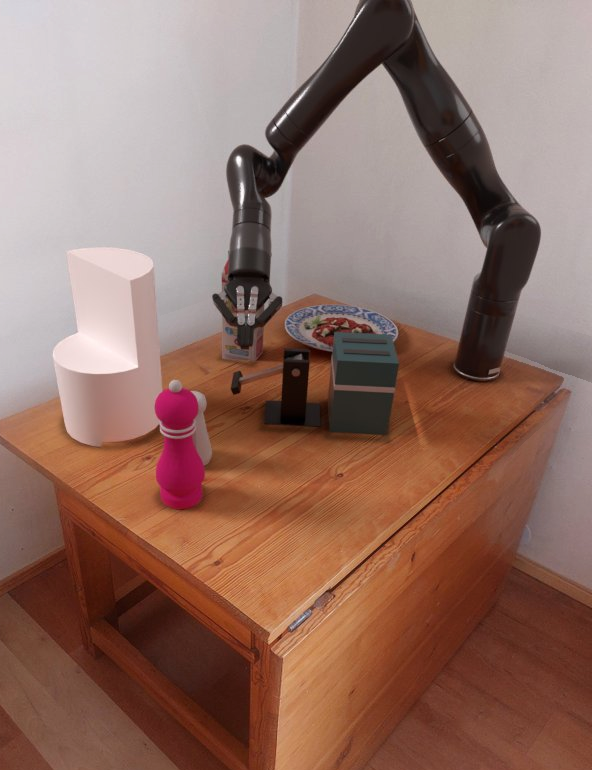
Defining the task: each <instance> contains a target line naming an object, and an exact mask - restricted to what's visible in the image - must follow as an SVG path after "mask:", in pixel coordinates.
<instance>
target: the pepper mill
mask: <svg viewBox="0 0 592 770" xmlns="http://www.w3.org/2000/svg"><path fill="white" fill-rule="evenodd" d="M191 391H192V390H190V389H188V388H185V387H183V384H182V382H181V381H180V380H178V379H172V380H171V381H169V384H168V388H166V389H163V391H162V392H161V393H160V394H159V395H158V397H157V398H156V401H155V414H156V416H157V418H158V419H159V420H160V423H159V432H160V434H162V436H163V447H162V452H161V455H160V456H159V459H158V461H157V463H156V468H155V479H156V482H157V484H158V485H159V489H160V490H159V491H160V499H161V502H162V503H163V504H164V505H165V506H166V507H169V508H171V509H176V510H184V509H189V508H192V507H195V506H196V505H198V504H199V503H200V502H201V500H202V498H203V485H202V483H203V482H204V481H205V478H206V470H205V466H204V465H203V462H202V459H201V458H200V456H199V454H198V452H197V450H196V448H195V446H194V443H193V433H194V432H195V430H196V426H195V423H196V421H195V418H196V416H197V414H198V410H199V407H198V401H197V398H196V396H195V395H194V394H193V393H192V392H191Z"/></svg>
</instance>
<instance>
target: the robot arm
mask: <svg viewBox="0 0 592 770" xmlns="http://www.w3.org/2000/svg"><path fill="white" fill-rule="evenodd" d="M380 66H383V68H384V69H385V71H386V72H387V73H388V75H389V76H390V78H391V79H392V81H393V83H394V84H395V86H396V88H397V90H398V92H399V95H400V97H401V99H402V102H403V105H404V107H405V110H406V112H407V115H408V117H409V120H410V122H411V124H412V126H413V129H414V130H415V132H416V135H417V136H418V139H419V140H420V143H421V144H422V146H423V147H424V149H425V150H426V152H427V154H428V156H429V157H430V159H431V160H432V162H433V164H434V165H435V166H436V168H437V169H438V170H439V172H440V173H441V175H442V177H443V178H444V179H445V180H446V182H447V183H448V184H449V185H450V186H451V188H452V189H453V190H454V191H455V192H456V193H457V195H458V196H459V198H461V200H462V202H463V203H464V206H465V207H466V209H467V211H468V213H469V216H470V217H471V220H472V221H473V224H474V226H475V228H476V231H477V233H478V236H479V238H480V241H481V243H482V244H483V246H484V247H485V248H486V251H485V256H484V259H483V262H482V263H483V264H482V267H481V271H480V272H478V273H477V274H475V276H474V277H473V279H472V284H471V289H470V294H469V298H468V302H467V307H466V311H465V316H464V320H463V324H462V329H461V332H460V333H461V334H460V337H459V343H458V347H457V351H456V355H455V359H454V362H453V365H452V368H453V371H454V373H456V374H457V375H458V376H460V377H462V378H465V379H467V380H470V381H476V382H491V381H495V380H497V379H498V378H499V376H500V374H501V373H500V372H501V368H502V363H503V360H504V357H505V354H506V349H507V346H508V342H509V338H510V334H511V331H512V327H513V324H514V320H515V317H516V312H517V309H518V305H519V302H520V297H521V294H522V291H523V290H524V288H525V287H526V286H527V284H528V281H529V279H530V276H531V274H532V270H533V267H534V264H535V261H536V257H537V254H538V251H539V248H540V244H541V239H542V228H541V225H540V223H539V221H538V219H537V218H536V217H535V216H534V215H533V214H531V213H530V212H529V211H528V210H527V209H525V207H524V206H522V205H521V204H520V203H519V202H518V201H517V199H516V198H515V196H514V195H513V194H512V193H511V191H510V190H509V188H508V187H507V185H506V184H505V183H504V181H503V180H502V179H503V178H501V175H500V174H499V172H498V170H497V167H496V163H495V160H494V157H493V153H492V149H491V147H490V144H489V140H488V138H487V135H486V133H485V131H484V129H483V127H482V125H481V122H480V121H479V119H478V118H477V116H476V114H475V112H474V110H473V108H472V107H471V105H470V103H469V102H468V101H467V99H466V97H465V96H464V95H463V93H462V91H461V90H460V88H459V87H458V85H457V84H456V82H455V81H454V80H453V78H452V77H451V75H450V74H449V73H448V72H447V69H446V68H444V66H443V64H442V63H441V62H440V60H439V59H438V58H437V57H436V54H435V53H434V51H433V49H432V47H431V45H430V43H429V41H428V38H427V36H426V34H425V32H424V30H423V28H422V25H421V22H420V20H419V18H418V16H417V14H416V11H415V9H414V5H413V2H412V0H359V1H358V3H357V5H356V7H355V11H354V14H353V18H352V20H351V21H350V23H349V24H348V26H347V28H346V30H345V31H344V33H343V35H342V36H341V37H340V40H339V41H338V42H337V44H336V46H335V47H334V48H333V50H332V51H331V52H330V54H329V55H328V56H327V58H326V59H325V60H324V61H323V63H322V64H320V66H319V67H318V68H317V69H316V70H315V71H314V72H313V73H312V74H311V75H310V76H309V78H307V79H306V80H305V81H304V82H303V83H302V84H301V85H300V86H299V87H298V88H297V89H296V91H294V93H293V94H292V95H291V96H290V97H289V98H288V99H287V101H286V102H285V103H284V104H283V105H282V107H280V109H279V110H278V111H277V112H276V114H275V115H274V117H272V119H271V120H270V122H268V124H267V126H266V127H265V130H264V135H265V136H264V137H265V139H266V141H267V143H268V145H269V146H270V147H271V148H272V149H273V152H272V153H271V154H270V156H268V155H267V154H265V153H264V152H262V151H260V150H259V149H257V148H256V147H254V146H253V145H250V144H246V143H245V144H243V143H242V144H240V145H237V146H236V147H234V149H233V150H231V153H230V154H229V157H228V159H227V162H226V167H225V175H226V176H225V177H226V183H227V188H228V194H229V198H230V203H231V207H232V221H231V222H232V223H231V234H230V240H229V264H228V280H227V283H226V284H225V286H224V290H223V291H222V290H221V291H220V292H219V293H216V292H215V293H213V294H212V295H211V298H212V303H213V305H214V306H215V307H216V309H217V310H218V312H219V313H220V314H221V317H222V316H223V317H224V318H225V320H226V321H227V322H228V324H229V325H230V326H235V327H237V344H238V346H241V350H249V347H252V346H253V341H254V330H255V328H257V327H264V328H265V326H266V325H267V324H268V322H269V321H270V320H272V318H273V317H274V316H275V315H276V314H277V313H278V312H279V310H280V309H281V308H282V307H283V296H281V295H278V296H277V295H276V294H275V293H274V292H273V288H272V286H271V264H272V255H273V254H272V217H273V216H272V214H273V212H272V206H271V204H270V202H269V201H268V200H267V198H270V197H272V196H273V195H276V193H277V192H278V191H279V190H280V189H281V187H282V185H283V184H284V181H285V179H286V177H287V175H288V173H289V171H290V169H291V168H292V165H293V164H294V162H295V160H296V158H297V156H298V154H299V153H300V151H301V150H302V149H303V148H304V147H305V146H306V145H307V144H308V143H309V141H310V140H311V139H312V138H313V137H314V136H315V134H316V133H318V131H319V130H321V129H320V128H321V127H322V126H323V125H324V124H325V123H326V121H327V120H328V119H329V118H330V117H331V115H332V114H333V113H334V112H335V110H336V109H337V108H339V106H340V105H341V104H342V102H343V101H344V100H345V99H346V98H347V97H348V96H349V95H350V94H351V93H352V92H353V90H355V88H356V87H357V86H358V85H359V84H361V83H362V81H364V80H365V79H366V78H367V77H368V76H369V75H370V74H372V73H373V72H374V71H375V70H376V69H377V68H379V67H380ZM226 297H228V299H229V300H230V302H231V303H232V305H233V306H234V307H235V308H236V309H237V313H238V318H237V317H235V316H234V315H233V314H232V313H231V311H230V310H229V308H228V307H227V306H226V303H227V301H226ZM267 302H268V306H267V307H266V308H264V312H263V313H262V314H261V315H260V316H259V317H258V318H256V315H257V310H259V309H260V308H261V307H262V306H263V305H264V306H265V304H266V303H267ZM246 310H249V314H248V321H247V326H245V311H246Z"/></svg>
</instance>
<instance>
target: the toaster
mask: <svg viewBox="0 0 592 770" xmlns="http://www.w3.org/2000/svg"><path fill="white" fill-rule="evenodd" d="M394 343H395V342H393V339H392V336H391V335H388V334H368V333H348V332H334V342H333V352H331V353H332V354H331V358H330V359H331V360H330V361H331V364H330V372H329V373H330V374H329V381H328V392H327V412H328V427H329V433H337V434H338V433H339V434H358V435H359V434H360V435H379V436H388V432H389V426H390V420H391V414H392V408H393V402H394V396H395V393H396V384H397V378H398V373H399V367H400V362H399V358H398V354H397V350H396V347H395V344H394Z"/></svg>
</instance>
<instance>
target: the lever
mask: <svg viewBox="0 0 592 770" xmlns="http://www.w3.org/2000/svg"><path fill="white" fill-rule="evenodd" d="M286 359H297V360H304V359H303V356H302V354H299V355H295V356H292V357H289V358H286ZM280 374H283V364H280V365H277V366H274V367H269V368H267V369H264V370H260V371H257V372H254V373H250V374H247V375H244V376H243V373H242V371H241V370H237V371H233V373H232V379H231V385H230V391H231V394H232V395H233V396H234V395H239V394H241V391H242V386H243V385H246V384H250V383H254V382H256V381H259V380H260V381H261V380H263V379H266V378H270V377H274V376H277V375H280Z"/></svg>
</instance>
